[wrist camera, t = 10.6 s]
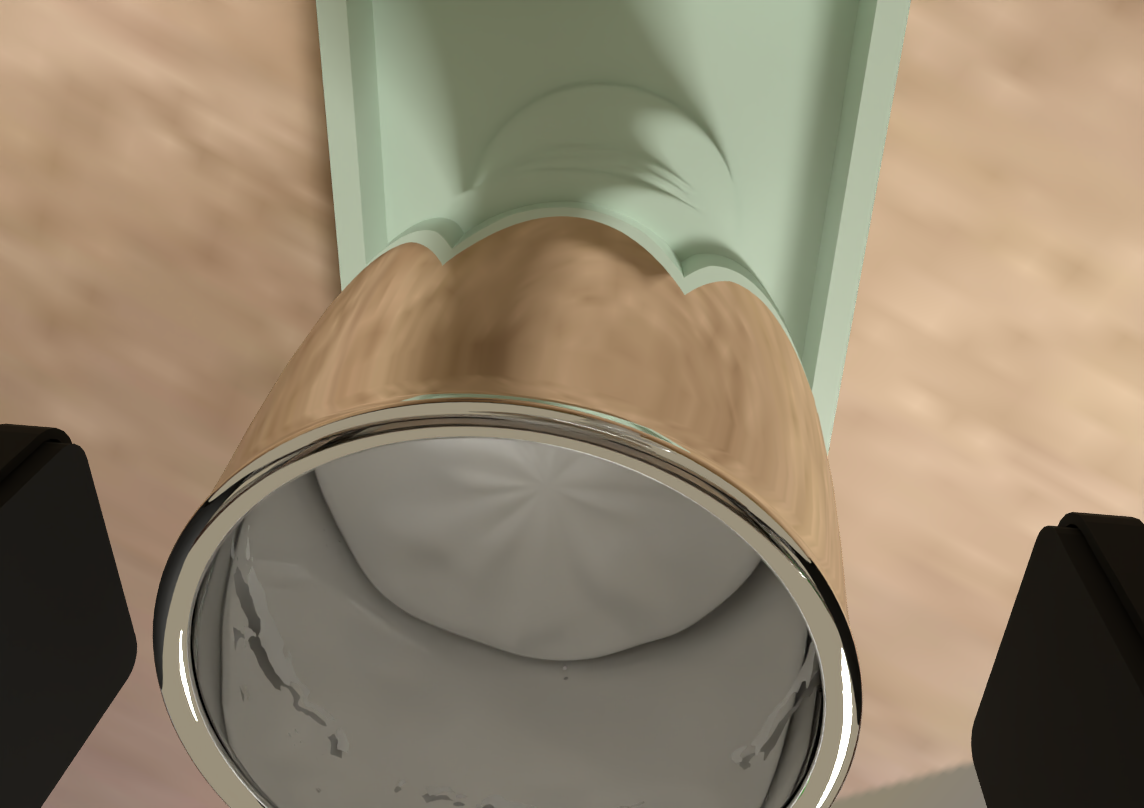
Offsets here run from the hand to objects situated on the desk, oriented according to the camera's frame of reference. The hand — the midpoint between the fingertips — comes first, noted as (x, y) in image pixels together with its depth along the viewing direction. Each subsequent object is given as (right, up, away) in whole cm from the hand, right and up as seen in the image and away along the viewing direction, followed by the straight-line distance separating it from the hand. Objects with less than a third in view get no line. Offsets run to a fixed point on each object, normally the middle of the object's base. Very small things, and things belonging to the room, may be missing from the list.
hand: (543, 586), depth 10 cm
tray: (+1, +6, +13) cm, 14 cm away
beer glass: (+1, +6, +13) cm, 14 cm away
